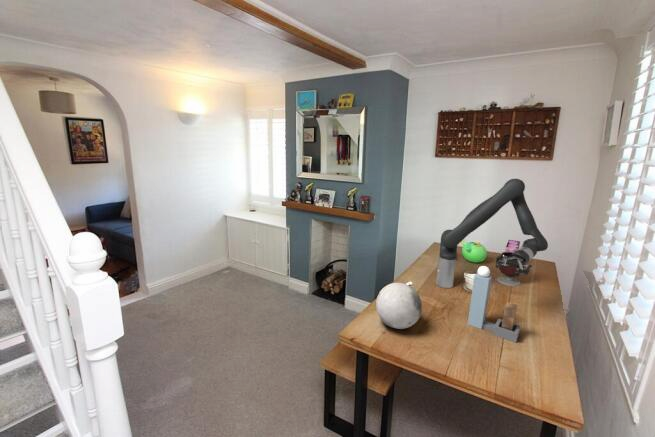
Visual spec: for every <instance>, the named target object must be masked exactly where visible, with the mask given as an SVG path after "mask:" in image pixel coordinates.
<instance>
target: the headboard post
mask: <svg viewBox="0 0 655 437" xmlns="http://www.w3.org/2000/svg"><path fill="white" fill-rule="evenodd" d="M492 278H493V275H491V271H490V268H489V267H488V266H485V265H481V266H479V268H478V269H477V272H476V274H475V275H474V277H473V284H472V291H471V298H470V304H469V313H468V320H467V325H469V326H472V327H475V328H478V329H479V330H482V329H484V330H486V331H490V332H493V333H492V335H493V336H496V337H498V338H502V339H505V340H508V341H510V342H513V343H517V341H518V338H519V335H520V330H521V324H517V323H515V322H514V326H513V331H510V330H507V329H504V328H501V327H502V321H503V318H497V321H496V322H495V323H493V322H491V321H488V320H486V317H487V310H488V305H489V304H488V303H489V298H490V290H491V284H492Z"/></svg>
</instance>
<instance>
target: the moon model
mask: <svg viewBox="0 0 655 437" xmlns="http://www.w3.org/2000/svg"><path fill="white" fill-rule="evenodd" d="M376 297H377V298H376V299H375V300H376V301H375V302H376V303H375V305H376V306H375V307H376V312H377V315H378V317H379V318H380V320H381V321H382V322H383V323H384V324H385V325H387V326H388V327H390V328H393V329H397V330H398V329H399V330H403V329H407V328H410V327H412V326H414V325H415V323H417V322H418V320H419V318H420V317H421V314H422V311H423V310H422V309H423V306H422V304H423V303H422V300H421V297H420V295H419V293H418V292H417V291H416V290H415V288H414V287H410V286H409V285H407V283H403V282H391V283H389V284H387V285H386V286H384V287H383V288H382V289H381V290H380V291H379V293H378V295H377V296H376Z"/></svg>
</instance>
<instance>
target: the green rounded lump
mask: <svg viewBox="0 0 655 437" xmlns="http://www.w3.org/2000/svg"><path fill="white" fill-rule="evenodd" d="M460 244H462V245H463V246H462V248H461V255H462V256H463V257H464V259H466V261H468V262H470V263H481V262H483V261H484V260H485V259H487V257H488V251H487V249H486V247H485V246H484V245H483V244H481V242H480V241H476V242H475V241H469V242H467V241H464V239H463V240H462V241H461V242H460Z"/></svg>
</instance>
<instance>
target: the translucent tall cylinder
mask: <svg viewBox="0 0 655 437" xmlns="http://www.w3.org/2000/svg"><path fill="white" fill-rule="evenodd" d="M517 308H518V305H517V304H515V303H511V302H507V301H506V303H505V306H504V310H503V316H502V320H503V321H502V327H501V328H504V329H507V330H510V331H513V326H514V323H515V320H516V319H515V318H516V315H517V314H516V313H517Z"/></svg>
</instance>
